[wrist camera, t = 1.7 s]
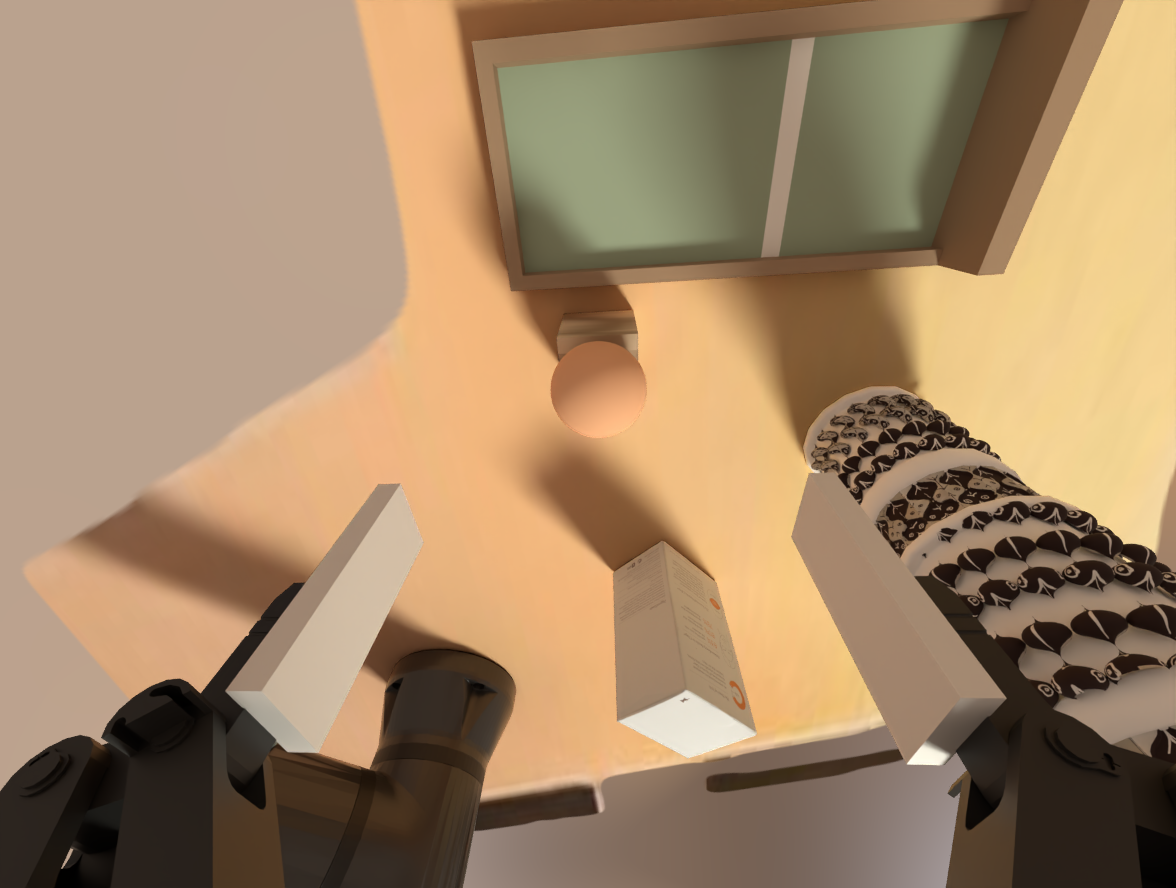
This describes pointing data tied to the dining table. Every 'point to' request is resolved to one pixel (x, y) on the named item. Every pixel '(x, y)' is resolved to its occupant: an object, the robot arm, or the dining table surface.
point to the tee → (598, 330)
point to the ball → (598, 389)
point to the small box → (676, 656)
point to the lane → (782, 138)
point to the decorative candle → (1015, 562)
